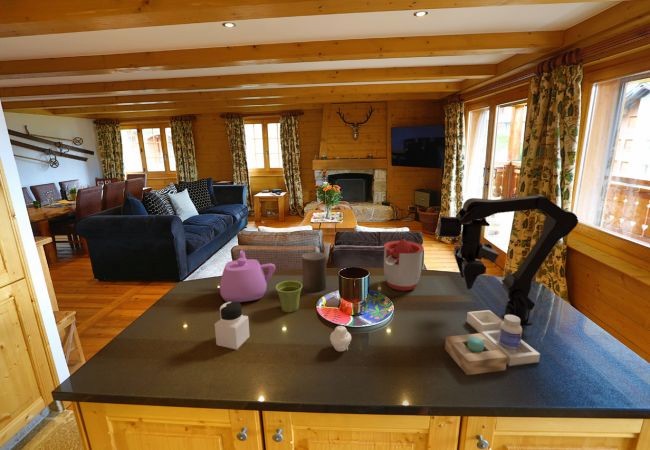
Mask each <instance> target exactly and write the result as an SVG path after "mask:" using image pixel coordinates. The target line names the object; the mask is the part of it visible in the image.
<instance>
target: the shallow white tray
mask: <svg viewBox="0 0 650 450" xmlns="http://www.w3.org/2000/svg"><path fill="white" fill-rule="evenodd" d="M481 333H482V334H483V335H484V336H485V337H486V338H487V339H488V340H490V341H491V342H492V343H493V344H494V345H495V346H496V347H497V348H498V349H500V350H501V351H502V352H503V353H504V354H505V355H506V356H507V364H506V365H507V366H508V367H511V366H512V367H513V366H520V365H526V364H528V365H529V364H534V363H535V364H536V363H539V362H540V356H541V353H540V352H538V351H537V350H536V349H534V348H533V347H532V346H531V345H529V344H528V343H526V342H525V341H524V340H523V339H522V338H521V342H520V349H519V352H518V353H516V354H510V353H509V352H508V351H507V350H506V349H504V348H503V347H502V346H501V345H500V344H499V343H498V340H499V333H500V330H493V331H484V332H481Z"/></svg>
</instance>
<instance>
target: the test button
mask: <svg viewBox="0 0 650 450" xmlns="http://www.w3.org/2000/svg"><path fill="white" fill-rule="evenodd" d="M467 348H468V349H469V350H470V351H471V352H472V353H476V352H483V348H484V341H483V340H482V339H480V338H477V337H469V338H468V343H467Z"/></svg>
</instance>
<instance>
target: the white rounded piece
mask: <svg viewBox="0 0 650 450" xmlns="http://www.w3.org/2000/svg"><path fill="white" fill-rule="evenodd" d="M329 341H330V342H331V345H332V346H333V348H334V350H335V351H337V352H344V351H346V350H347V348H348V347H349V345H350V344H351V341H352V334H351V333H350V332H349V331H348V329H347V328H346V327H345V326H343V325H337V326H336V327H335V328H334V331H332V332H331V334H330V335H329Z"/></svg>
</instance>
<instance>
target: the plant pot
mask: <svg viewBox="0 0 650 450" xmlns="http://www.w3.org/2000/svg"><path fill="white" fill-rule="evenodd" d="M302 288H303V283H301V282H299V281H296V280H286V281H281V282H279V283H277V284H276V285H275V290H276V291H277V293H278V297H279V302H280V307H281V310H282V311H283V312H285V313H291V312H297V311H298V310H299V308H300V299H301V298H300V297H301V291H302Z"/></svg>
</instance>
